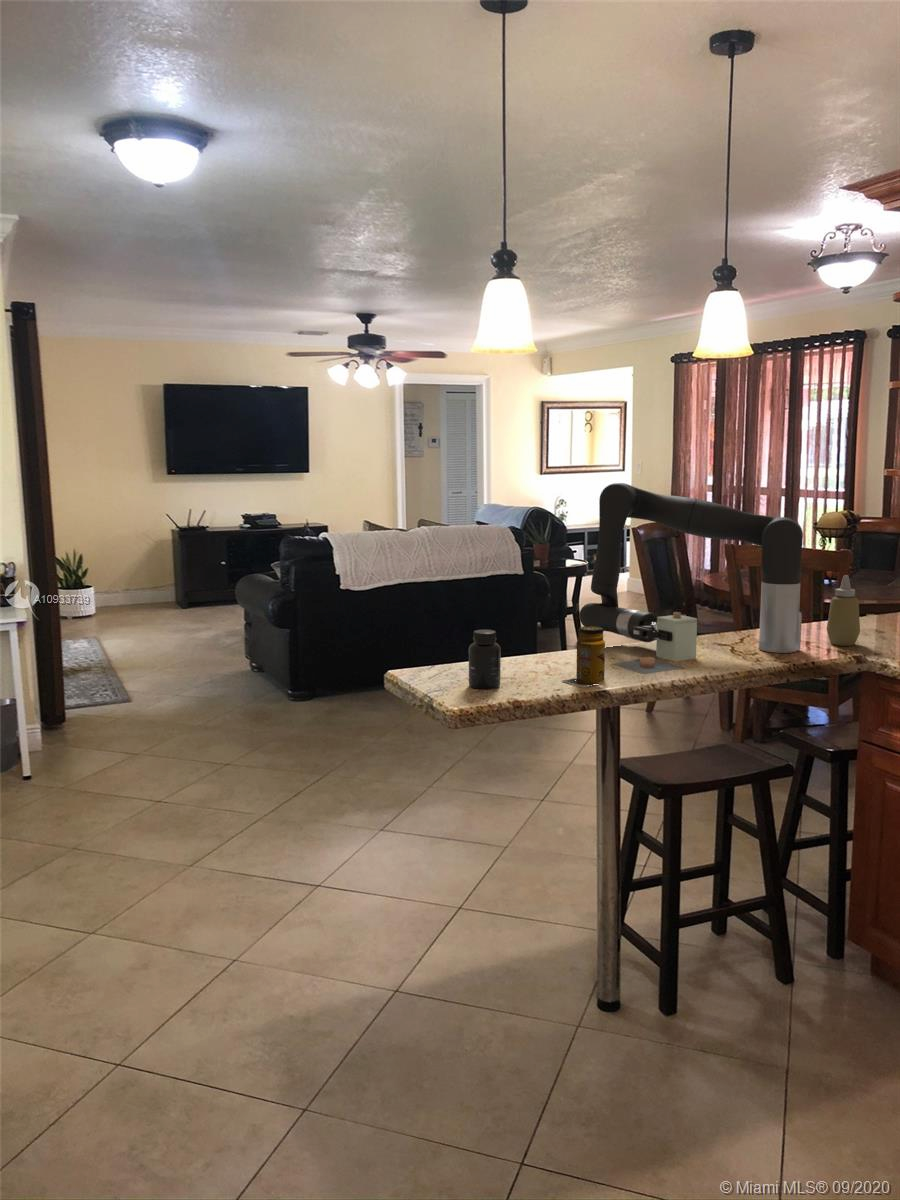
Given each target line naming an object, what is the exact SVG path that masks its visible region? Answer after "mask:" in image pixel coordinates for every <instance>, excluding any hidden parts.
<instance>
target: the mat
mask: <svg viewBox="0 0 900 1200" xmlns="http://www.w3.org/2000/svg"><path fill="white" fill-rule="evenodd" d="M611 666H616V667H618V668H622V669H626V670H629V671H632V672H636V673H639V674H642V675H647V674H654V673H661V672H668V671H674V670H683V669H684V667H683V666H679V665H676V664H672V663H668V662H665V661H662V660H658V659H655V660H654V667H641V666H640V659H638V660H637V659H636V660H629V661H623V662H621V661H620V662H615V663H614V662H613V663H611Z"/></svg>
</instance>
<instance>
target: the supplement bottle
mask: <svg viewBox="0 0 900 1200" xmlns="http://www.w3.org/2000/svg"><path fill="white" fill-rule="evenodd" d="M472 638H473V641H474V642H473V643H471V644H470V645H469V648H468V685H469V687H470V688H472V689H475V690H487V691H488V690H494V689H498V688H499V687H501V686H500V685H501V661H502V660H501V657H502V656H501V649H502V648H501V646H500V645H499V644H498V643H497V642H496V641H497V632H496V631H495V630H492V629H477V630H474V631H473V637H472Z"/></svg>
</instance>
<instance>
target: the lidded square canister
mask: <svg viewBox="0 0 900 1200" xmlns="http://www.w3.org/2000/svg"><path fill="white" fill-rule="evenodd" d="M672 614H673V615H671V614H670V615H663V616H658V617H657V629H660V630H664V631H669V632H672V641H665V640H661V639H660V640H656V651H655V653H656V658H661V659H664V660H667V661H671V662H682V661H689V660H696V659H697V637H698V635H697V634H698V618H697V617H693V616H692V617H691V616H686V615H682V612H679V611H673V613H672Z"/></svg>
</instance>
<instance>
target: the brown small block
mask: <svg viewBox="0 0 900 1200" xmlns="http://www.w3.org/2000/svg"><path fill="white" fill-rule="evenodd" d="M639 660H640V666H641V667H654V660H656V659H655V658H654V657H653V656H641V657H640V659H639Z"/></svg>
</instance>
